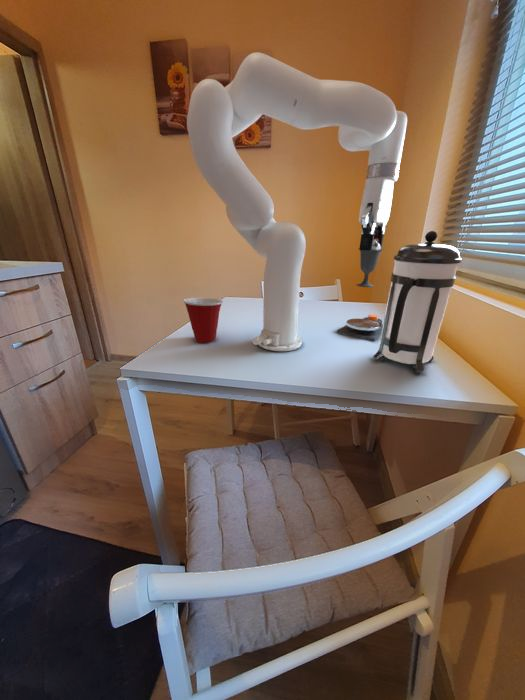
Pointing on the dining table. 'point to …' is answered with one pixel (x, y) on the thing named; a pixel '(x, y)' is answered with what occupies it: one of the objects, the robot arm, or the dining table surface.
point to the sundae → (369, 261)
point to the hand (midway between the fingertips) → (370, 249)
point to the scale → (363, 332)
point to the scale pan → (363, 324)
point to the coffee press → (417, 301)
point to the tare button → (373, 317)
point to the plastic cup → (203, 317)
